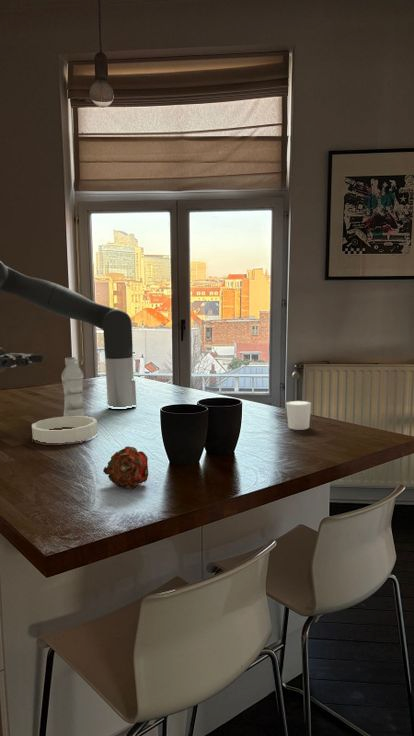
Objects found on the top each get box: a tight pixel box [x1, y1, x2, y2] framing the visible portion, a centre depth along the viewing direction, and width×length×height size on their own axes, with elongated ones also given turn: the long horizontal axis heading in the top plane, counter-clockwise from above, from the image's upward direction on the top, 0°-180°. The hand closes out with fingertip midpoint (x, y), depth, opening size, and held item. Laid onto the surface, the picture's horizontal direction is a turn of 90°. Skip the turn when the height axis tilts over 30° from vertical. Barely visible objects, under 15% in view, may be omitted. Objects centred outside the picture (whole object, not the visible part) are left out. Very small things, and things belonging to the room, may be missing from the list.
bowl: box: [31, 415, 99, 443], centre depth 152 cm, size 17×17×4 cm
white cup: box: [285, 400, 312, 431], centre depth 155 cm, size 7×7×7 cm
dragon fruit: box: [103, 445, 149, 490], centre depth 112 cm, size 8×8×12 cm
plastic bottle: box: [61, 356, 87, 417], centre depth 166 cm, size 6×7×20 cm
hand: (36, 360), depth 167 cm, fingers open, 8 cm apart
